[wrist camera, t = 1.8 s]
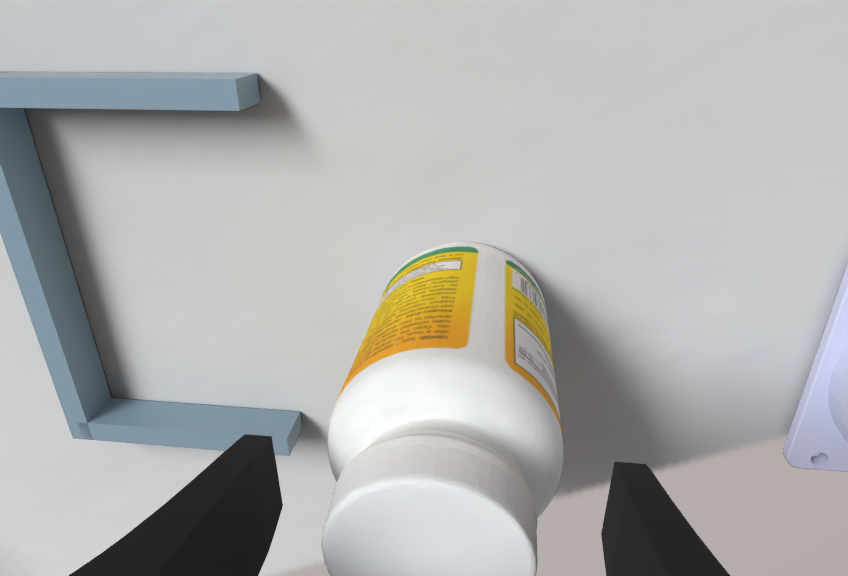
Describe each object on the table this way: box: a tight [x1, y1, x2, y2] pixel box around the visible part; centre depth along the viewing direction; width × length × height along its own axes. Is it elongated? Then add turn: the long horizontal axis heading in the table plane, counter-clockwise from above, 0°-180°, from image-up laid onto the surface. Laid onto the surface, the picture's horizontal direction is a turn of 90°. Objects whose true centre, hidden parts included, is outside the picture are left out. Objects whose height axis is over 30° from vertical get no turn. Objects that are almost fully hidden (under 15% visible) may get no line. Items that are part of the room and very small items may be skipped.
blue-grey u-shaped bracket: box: [0, 72, 302, 456], centre depth 19 cm, size 8×13×2 cm, turn 0°
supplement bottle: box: [321, 242, 564, 576], centre depth 15 cm, size 5×5×10 cm
